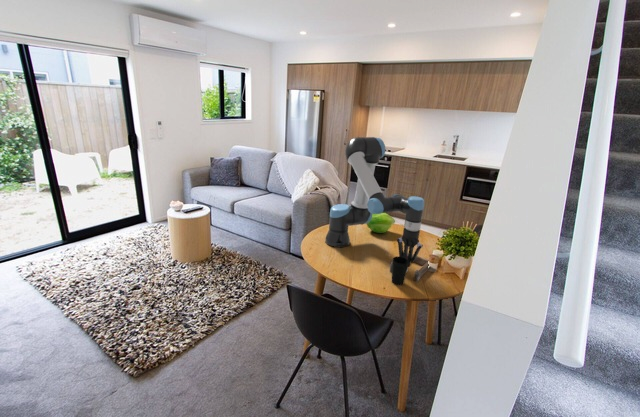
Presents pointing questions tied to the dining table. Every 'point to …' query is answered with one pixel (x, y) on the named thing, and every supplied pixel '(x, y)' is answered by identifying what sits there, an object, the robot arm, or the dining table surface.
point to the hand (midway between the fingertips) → (405, 271)
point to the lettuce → (380, 222)
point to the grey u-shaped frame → (420, 273)
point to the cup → (399, 270)
